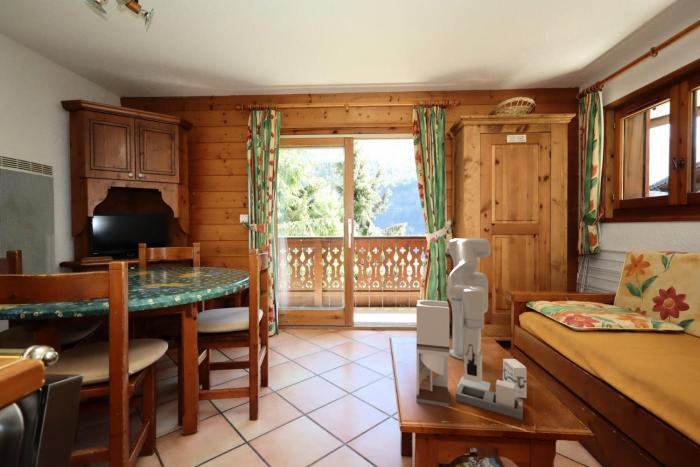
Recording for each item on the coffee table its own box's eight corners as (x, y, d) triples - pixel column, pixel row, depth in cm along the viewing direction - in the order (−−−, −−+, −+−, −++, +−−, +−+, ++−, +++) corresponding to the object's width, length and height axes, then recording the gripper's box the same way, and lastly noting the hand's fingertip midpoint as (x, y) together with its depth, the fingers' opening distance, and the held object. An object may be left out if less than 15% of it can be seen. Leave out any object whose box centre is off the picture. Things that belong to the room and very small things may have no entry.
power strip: (460, 391, 112) (460, 382, 112) (523, 408, 101) (523, 398, 101) (455, 401, 105) (455, 392, 105) (522, 421, 94) (522, 410, 94)
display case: (416, 401, 105) (416, 305, 105) (417, 387, 115) (417, 299, 115) (449, 406, 102) (449, 307, 102) (447, 391, 112) (447, 301, 112)
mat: (462, 377, 123) (462, 375, 123) (490, 384, 117) (490, 382, 117) (456, 388, 114) (456, 387, 114) (487, 397, 108) (487, 395, 108)
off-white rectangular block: (496, 404, 103) (496, 379, 103) (514, 409, 100) (514, 383, 100) (495, 410, 100) (495, 384, 100) (514, 415, 97) (514, 388, 97)
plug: (466, 374, 108) (466, 350, 109) (482, 378, 106) (481, 353, 106) (464, 379, 105) (464, 354, 105) (480, 383, 102) (480, 357, 102)
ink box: (502, 387, 115) (502, 358, 115) (514, 387, 115) (514, 358, 115) (514, 399, 107) (514, 367, 107) (527, 399, 106) (527, 367, 107)
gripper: (466, 316, 115) (466, 362, 114) (457, 326, 101) (457, 379, 100) (486, 318, 111) (487, 366, 111) (480, 329, 97) (480, 384, 96)
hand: (473, 372), depth 105 cm, fingers closed on plug, 4 cm apart
